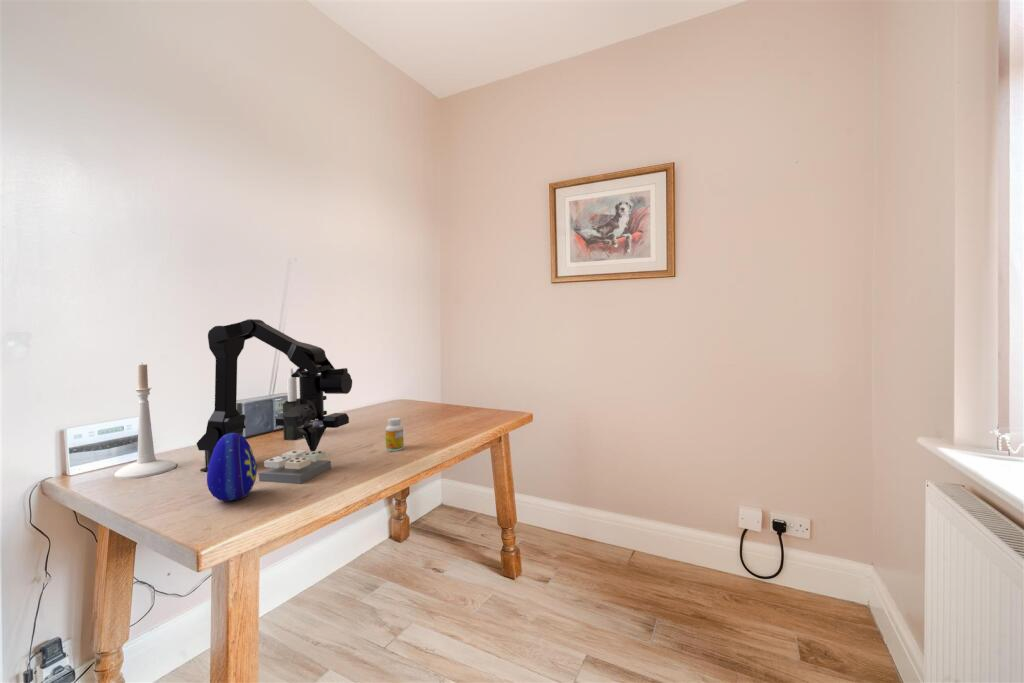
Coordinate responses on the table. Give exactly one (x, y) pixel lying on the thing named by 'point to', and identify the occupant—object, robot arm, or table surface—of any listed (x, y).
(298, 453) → the key one dot
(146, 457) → the candlestick
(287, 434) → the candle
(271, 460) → the key two dot
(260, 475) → the keypad board
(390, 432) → the supplement bottle
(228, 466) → the ornament
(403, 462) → the table surface
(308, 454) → the key three dot
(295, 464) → the key four dot
